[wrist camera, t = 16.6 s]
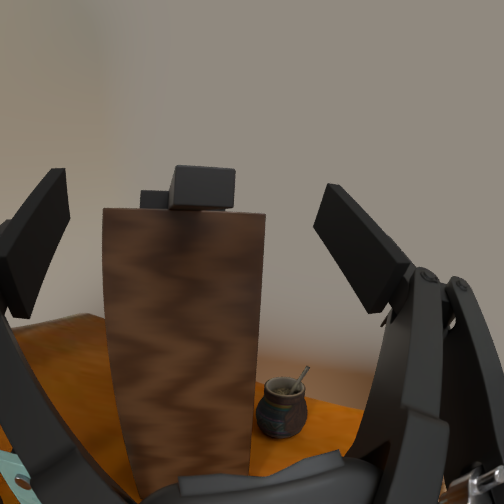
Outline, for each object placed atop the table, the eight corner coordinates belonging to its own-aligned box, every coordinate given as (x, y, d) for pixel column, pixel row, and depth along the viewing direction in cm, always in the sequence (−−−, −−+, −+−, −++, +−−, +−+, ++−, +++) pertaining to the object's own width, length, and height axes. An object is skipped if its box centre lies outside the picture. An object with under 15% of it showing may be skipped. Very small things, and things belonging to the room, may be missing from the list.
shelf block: (140, 499, 23) (102, 207, 20) (139, 427, 36) (125, 209, 33) (247, 491, 26) (266, 213, 23) (221, 424, 40) (227, 213, 36)
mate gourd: (243, 427, 39) (246, 370, 38) (279, 409, 44) (285, 355, 43) (279, 451, 34) (288, 393, 33) (314, 428, 39) (325, 372, 38)
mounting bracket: (19, 554, 9) (-56, 462, 7) (33, 491, 18) (-12, 396, 17) (137, 577, 12) (90, 505, 11) (131, 505, 22) (104, 413, 20)
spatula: (114, 204, 11) (117, 162, 11) (146, 210, 33) (147, 195, 32) (288, 212, 13) (289, 173, 13) (207, 212, 35) (208, 198, 34)
